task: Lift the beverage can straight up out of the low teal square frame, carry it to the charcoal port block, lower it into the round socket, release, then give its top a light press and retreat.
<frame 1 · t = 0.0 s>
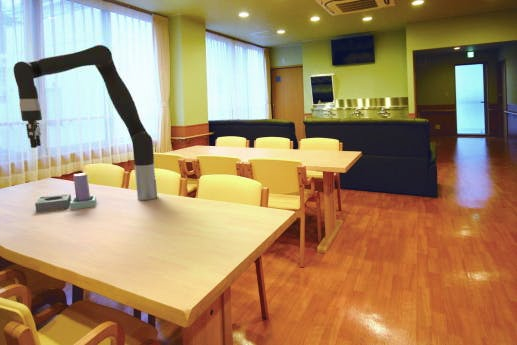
hand: (36, 146, 162), 29 cm above the table, fingers open, 8 cm apart
beverage can: (84, 205, 174), resting in teal square frame
teal square frame: (84, 205, 174), on the table
port: (54, 206, 173), on the table
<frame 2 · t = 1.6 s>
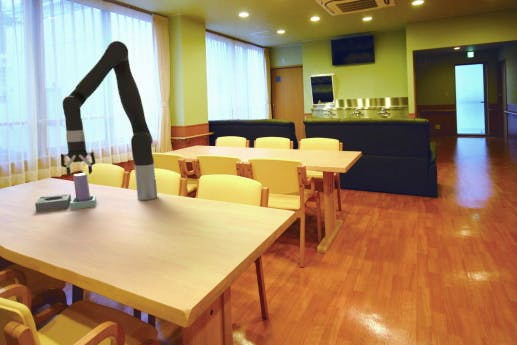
hand: (80, 174, 171), 15 cm above the table, fingers open, 8 cm apart
nothing on the table moved.
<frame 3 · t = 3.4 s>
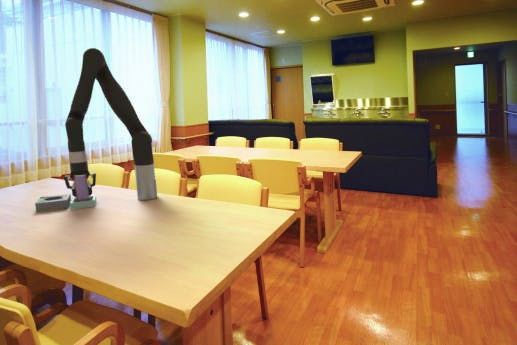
hand: (82, 195, 173), 5 cm above the table, fingers closed on beverage can, 5 cm apart
beverage can: (84, 205, 174), resting in teal square frame, touching gripper
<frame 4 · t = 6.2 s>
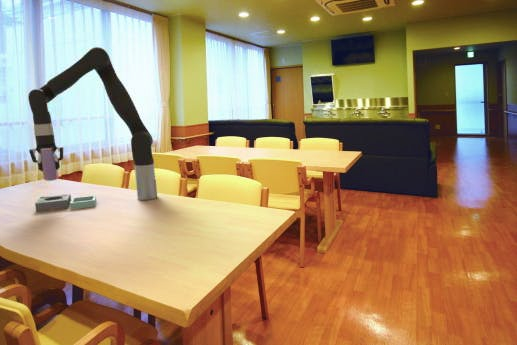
hand: (49, 170, 170), 18 cm above the table, fingers closed on beverage can, 5 cm apart
beverage can: (51, 180, 171), point 13 cm above the table, touching gripper
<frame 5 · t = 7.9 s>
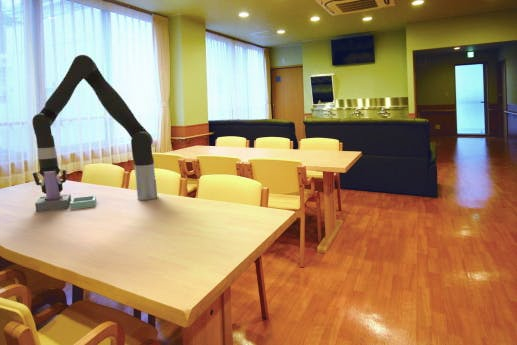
hand: (52, 192, 172), 7 cm above the table, fingers closed on beverage can, 5 cm apart
beverage can: (54, 202, 173), point 2 cm above the table, touching gripper
when the fingers open (6 cm above the table, at t = 9.1 s): beverage can drops 1 cm, resting in port.
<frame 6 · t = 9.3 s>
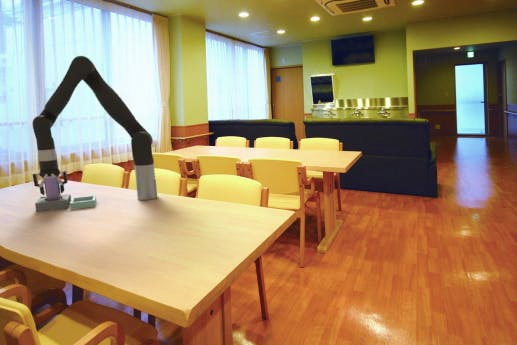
hand: (52, 193, 172), 6 cm above the table, fingers open, 7 cm apart
beverage can: (55, 206, 173), resting in port
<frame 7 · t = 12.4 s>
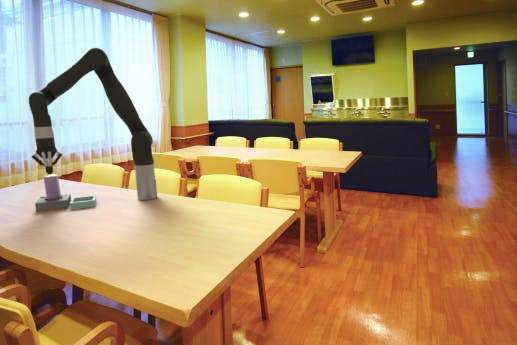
hand: (50, 173, 170), 16 cm above the table, fingers closed
nothing on the table moved.
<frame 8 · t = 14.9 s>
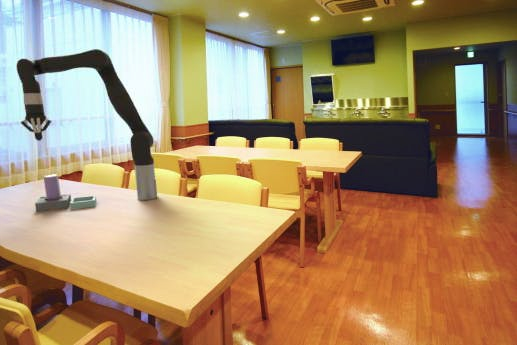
hand: (39, 140, 174), 31 cm above the table, fingers closed
nothing on the table moved.
at the end: beverage can 0.2 cm from the port (horizontally); beverage can tilted 0°; the gripper is holding nothing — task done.
